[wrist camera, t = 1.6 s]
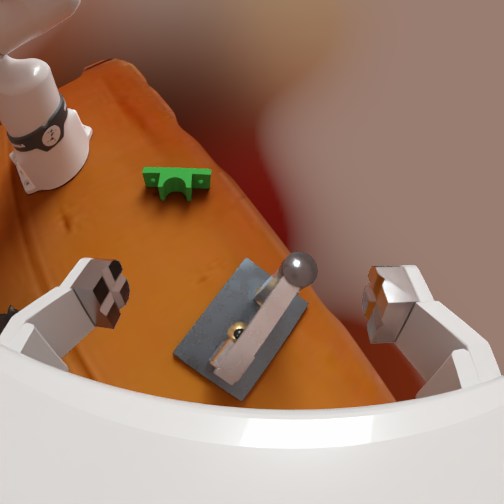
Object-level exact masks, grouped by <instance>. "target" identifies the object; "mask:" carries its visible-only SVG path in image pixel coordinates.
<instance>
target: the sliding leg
mask: <svg viewBox="0 0 504 504" xmlns="http://www.w3.org/2000/svg"><path fill="white" fill-rule="evenodd" d="M233 345H234V342H233V341H231V340H230V339H227V340H226V341H224V342H221V344H220V345H219V346H218V348H217V349H216V350H215V352H214V353H213V354H212V356H211V357H210V358H209V360H210V364H211V365H212V366H214V367H215V368H216V367H217V366H218V365H219V363H220V362H221V361H222V359H223V358H224V357H225V355H226V354H227V353H228V351H229V350H230V349H231V347H232V346H233ZM254 358H255V357H253V358H252V359H251V361H250V362H249V364H248V365H247V366H246V368H245V369H244V370H243V372H242V373H241V375H240V376H239V377H238V379H237V380H236V382H238V380H239V379H240V378H241V376H242V375H243V374H244V372H245V371H246V370H247V368H248V367H249V365H250V364H251V363H252V361H253V360H254Z"/></svg>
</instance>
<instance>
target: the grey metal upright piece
mask: <svg viewBox="0 0 504 504" xmlns="http://www.w3.org/2000/svg"><path fill="white" fill-rule="evenodd" d="M317 272H318V270H317V265H316V263H315V261H314V259H313V258H312V257H311V256H310V255H308V254H307V253H304V252H294V253H292V254H290V255H289V256H288V257H287V258H286V259H285V260H284V261H283V262H282V263H281V265H280V267H279V268H278V269H277V270H276V271H275V272H274V273H273V274H272V275H271V276H270V277H269V278H268V279H267V281H266V282H265V283H264V284H263V285H262V287H261V288H260V290H259V291H258V292H257V294H256V295H255V297H254V298H253V299H255V300H256V301H258V302H259V303H260V304H262V306H261V307H260V308H259V310H258V311H257V313H256V314H255V316H254V317H253V318H252V320H251V321H250V322H249V324H248V325H247V327H246V328H245V329H244V331H243V332H242V334H241V335H240V336H239V338H238V339H237V340H236V342H235V343H234V345H233V346H232V347H231V349H230V350H229V351H228V353H227V354H226V355H225V357H224V358H223V359H222V361H221V362H220V363H219V365H218V366H217V367H216V369H215V370H214V371H213V372H214V374H216V375H217V376H219V377H220V378H222V379H223V380H225V381H226V382H228V383H229V384H231V385H233V384H234V383H235V381H236V380H237V379H238V377H239V376H240V375H241V373H242V372H243V370H244V369H245V368H246V366H247V365H248V364H249V362H250V361H251V359H252V358H253V357H254V355H255V354H256V352H257V351H258V349H259V348H260V347H261V345H262V344H263V342H264V341H265V339H266V338H267V337H268V335H269V334H270V332H271V331H272V329H273V328H274V326H275V325H276V323H277V322H278V321H279V319H280V318H281V316H282V315H283V313H284V312H285V310H286V309H287V307H288V306H289V304H290V303H291V301H292V299H293V298H294V296H295V295H297V294H299V292H300V291H301V290H302V289H303V288H305V287H307V286H308V285H310V284H311V283H313V282H314V280H315V279H316V277H317Z"/></svg>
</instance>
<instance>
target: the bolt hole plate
mask: <svg viewBox="0 0 504 504" xmlns="http://www.w3.org/2000/svg"><path fill="white" fill-rule="evenodd" d="M270 276H271V275H269V274H268V273H266V272H265V271H264V270H262V269H261V268H260V267H258V266H257V265H256V264H254V263H253V262H251V261H250V260H249V259H247V258H245V260H244V261H243V262H242V263H241V265H240V266H239V267H238V269H237V270H236V271H235V273H234V274H233V275H232V276H231V278H230V279H229V280H228V282H227V283H226V284H225V285H224V287H223V288H222V289H221V291H220V292H219V293H218V295H217V296H216V297H215V298H214V300H213V301H212V302H211V304H210V305H209V306H208V308H207V309H206V310H205V311H204V313H203V314H202V315H201V317H200V318H199V319H198V321H197V322H196V323H195V324H194V326H193V327H192V328H191V330H190V331H189V332H188V334H187V335H186V336H185V337H184V339H183V340H182V341H181V343H180V344H179V345H178V347H177V348H176V349H175V350H174V352H173V354H175V355H176V356H177V357H178V358H180V359H181V360H182V361H184V362H185V363H186V364H188V365H189V366H190V367H192V368H193V369H195V370H196V371H197V372H199V373H200V374H201V375H203V376H204V377H206V378H207V379H209V380H210V381H211V382H213V383H214V384H216V385H217V386H219V387H220V388H222V389H223V390H225V391H226V392H228V393H229V394H231V395H232V396H234V397H235V398H237V399H239V400H240V401H243V399H244V398H245V397H246V395H247V394H248V393H249V391H250V390H251V389H252V387H253V386H254V384H255V383H256V382H257V380H258V379H259V377H260V376H261V375H262V373H263V372H264V370H265V369H266V368H267V366H268V365H269V363H270V362H271V360H272V359H273V358H274V356H275V355H276V353H277V352H278V350H279V349H280V347H281V346H282V344H283V343H284V341H285V340H286V338H287V337H288V335H289V334H290V332H291V331H292V329H293V328H294V326H295V325H296V323H297V321H298V320H299V318H300V317H301V315H302V314H303V312H304V310H305V309H306V307H307V306H308V304H309V303H308V302H306V301H305V300H303V299H302V298H301V297H299V296H298V295H295V296H294V298H293V299H292V301H291V303H290V304H289V306H288V307H287V309H286V310H285V312H284V313H283V315H282V316H281V318H280V319H279V321H278V322H277V323H276V325H275V326H274V328H273V329H272V331H271V332H270V334H269V335H268V337H267V338H266V339H265V341H264V342H263V344H262V345H261V347H260V348H259V349H258V351H257V352H256V354H255V355H254V357H255V358H254V360H253V361H252V363H251V364H250V365H249V367H248V368H247V370H246V371H245V372H244V374H243V375H242V376H241V378H240V379H239V380H238V382H236V381H235V383H234V384H233V385H231V384H229V383H228V382H226V381H225V380H223V379H222V378H220V377H219V376H217V375H216V374H214V372H213V371H214V370H215V369H216V368H215V367H214V366H212V365H211V364H210V360H209V358H210V357H211V356H212V354H213V353H214V352H215V350H216V349H217V348H218V346H219V345H220V344H221V342H224V341H226V340H227V339H230V340H231V341H233V342H234V343H235V342H236V340H237V339H238V338H239V336H240V335H241V334H242V332H243V331H244V329H245V328H246V327H247V325H248V324H249V322H250V321H251V320H252V318H253V317H254V316H255V314H256V313H257V311H258V310H259V308H260V307H261V306H262V304H260V303H259V302H258V301H256V300H255V299H253V298H254V297H255V295H256V294H257V292H258V291H259V290H260V288H261V287H262V285H263V284H264V283H265V282H266V281H267V279H268V278H269V277H270Z"/></svg>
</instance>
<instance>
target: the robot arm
mask: <svg viewBox="0 0 504 504" xmlns="http://www.w3.org/2000/svg"><path fill="white" fill-rule="evenodd" d="M80 1H81V0H0V121H1V123H2V124H3V126H4V127H5V129H6V130H7V136H8V138H9V141H10V143H11V144H12V145H13V147H14V151H13V152H12V153H11V154H10V155H9V156H10V158H11V160H12V161H13V163H14V164H15V165H16V167H17V170H18V173H19V176H20V179H21V182H22V184H23V187H24V190H25V191H26V193H27V194H31V193H34V192H36V191H38V190H50V189H54V188H57V187H59V186H61V185H63V184H65V183H66V182H68V181H69V180H70V179H72V178H73V177H74V176H75V175H76V174H77V173H78V172H79V170H80V169H81V168H82V166H83V165H84V163H85V161H86V159H87V156H88V152H89V140H90V138H91V136H92V133H93V131H92V129H91V128H90V127H88V126H85V125H82V123H81V121H80V119H79V116H78V114H77V112H76V111H75V110H72V109H68V108H67V106H66V102H65V100H64V98H63V97H62V95H61V93H59V92H58V90H57V87H56V85H55V82H54V79H53V76H52V73H51V70H50V67H49V66H48V65H47V64H46V63H45V62H44V61H41V60H39V59H33V58H31V59H22V60H18V59H13V58H10V57H8V56H7V55H6V54H8V53H9V52H11V51H13V50H14V49H16V48H17V47H19V46H21V45H22V44H24V43H26V42H28V41H30V40H32V39H34V38H35V37H38V36H39V35H41V34H43V33H45V32H47V31H48V30H50V29H51V28H53V27H54V26H56V25H58V24H59V23H61V22H62V21H64V20H65V19H67V18H68V17H70V16H72V14H73V13H74V12H75V10H76V9H77V7H78V5H79V3H80ZM122 270H123V269H122V266H121V264H120V262H119V261H117V260H114V259H100V258H82V259H80V260H79V261H78V263H77V264H76V265H75V267H74V268H73V269H72V271H71V272H70V273H69V275H68V276H67V277H66V279H65V280H64V281H63V283H62V284H61V285H60V287H55V288H54V289H52V290H51V291H49V292H48V293H46V294H45V295H43V296H42V297H40V298H38V299H37V300H35V301H34V302H33V303H31V304H30V305H28V306H27V307H25V308H24V309H22V310H21V311H19V312H18V313H16V314H15V315H14V316H12V317H11V319H10V320H9V322H8V324H7V325H6V327H5V328H4V330H3V332H2V333H1V335H0V504H504V375H503V376H501V374H500V371H499V368H498V366H497V363H496V360H495V358H494V355H493V353H492V350H491V348H490V346H489V343H488V342H487V341H486V340H485V339H483V338H482V337H481V336H480V335H479V334H478V333H477V332H475V331H474V330H473V329H471V327H469V326H468V325H467V324H466V323H465V322H463V321H462V320H461V319H460V318H459V317H457V316H456V315H455V314H454V313H452V312H451V311H450V310H449V309H447V308H446V307H445V306H444V305H442V304H441V303H440V302H439V301H434V299H433V297H432V295H431V293H430V291H429V289H428V287H427V285H426V283H425V281H424V279H423V277H422V275H421V273H420V271H419V269H418V268H417V267H416V266H415V265H402V266H372V267H371V269H370V271H369V274H368V277H369V281H370V283H368V284H367V285H366V286H365V288H364V292H363V299H362V306H363V312H364V316H365V317H367V318H368V319H369V322H368V324H367V330H368V333H369V338H370V343H390V342H395V345H396V346H397V347H398V348H399V349H400V350H401V352H402V353H403V354H404V355H405V356H406V357H407V359H408V360H409V361H410V362H411V364H412V365H413V366H414V367H415V368H416V370H417V371H418V372H419V373H420V374H421V376H422V377H423V378H424V379H425V381H426V382H427V383H426V384H425V385H424V387H422V389H421V390H420V391H419V392H418V393H417V395H416V399H413V400H407V401H401V402H395V403H388V404H380V405H372V406H363V407H351V408H337V409H315V410H276V409H253V408H239V407H227V406H217V405H209V404H201V403H194V402H187V401H181V400H175V399H169V398H164V397H158V396H153V395H149V394H144V393H139V392H135V391H131V390H127V389H123V388H119V387H115V386H111V385H108V384H104V383H100V382H97V381H94V380H90V379H87V378H84V377H81V376H78V375H75V374H72V373H69V372H68V370H69V369H68V366H67V365H66V364H65V363H64V362H63V361H62V358H63V357H64V356H65V355H66V354H67V353H68V352H69V351H70V350H71V349H72V348H73V347H74V346H75V345H76V344H78V343H79V342H80V341H81V340H82V339H83V338H84V337H85V336H86V335H87V334H88V333H89V332H91V331H92V330H93V329H94V328H95V326H97V327H103V328H110V329H114V328H115V325H116V323H117V321H118V319H119V317H120V315H121V313H120V309H121V308H122V307H124V306H125V305H126V303H127V301H128V299H129V293H130V289H129V284H128V281H127V279H126V278H125V277H124V276H123V275H122V274H121V273H122Z"/></svg>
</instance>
